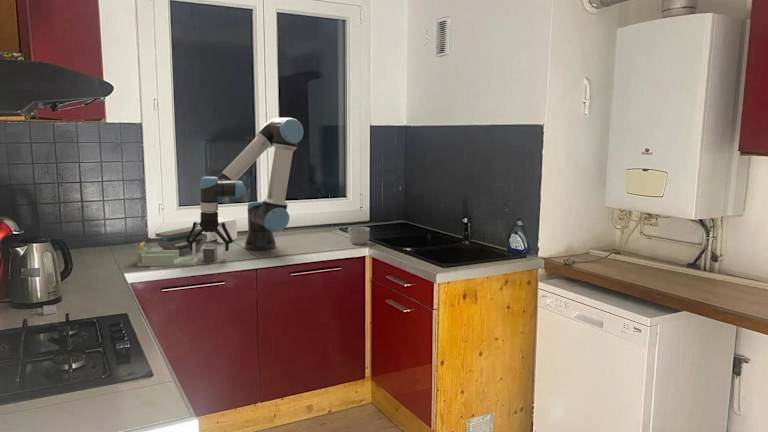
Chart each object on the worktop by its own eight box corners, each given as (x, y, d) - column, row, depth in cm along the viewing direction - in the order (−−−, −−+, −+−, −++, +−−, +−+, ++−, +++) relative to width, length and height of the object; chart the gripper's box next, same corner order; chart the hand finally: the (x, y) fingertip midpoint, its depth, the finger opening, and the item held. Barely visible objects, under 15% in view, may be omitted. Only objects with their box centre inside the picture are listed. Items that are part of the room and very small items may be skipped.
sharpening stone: (168, 258, 272) (167, 235, 270) (156, 256, 276) (155, 233, 274) (209, 249, 293) (208, 227, 292) (197, 247, 297) (196, 225, 295)
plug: (206, 258, 274) (205, 245, 273) (217, 258, 274) (216, 245, 273) (203, 262, 267) (202, 248, 266) (214, 262, 267) (214, 248, 267)
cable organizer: (218, 244, 304) (217, 222, 302) (202, 242, 308) (201, 220, 306) (237, 239, 317) (237, 218, 315) (222, 237, 321) (221, 216, 320)
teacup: (373, 244, 310) (373, 229, 309) (355, 246, 304) (355, 231, 303) (359, 239, 321) (359, 225, 320) (341, 241, 315) (341, 226, 314)
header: (199, 259, 272) (199, 239, 271) (194, 265, 260) (194, 245, 259) (144, 259, 269) (143, 240, 268) (137, 266, 257) (136, 245, 256)
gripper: (238, 210, 272) (238, 256, 275) (182, 209, 269) (182, 255, 272) (236, 213, 265) (236, 260, 268) (178, 212, 262) (179, 259, 265)
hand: (209, 258), depth 270 cm, fingers open, 13 cm apart
